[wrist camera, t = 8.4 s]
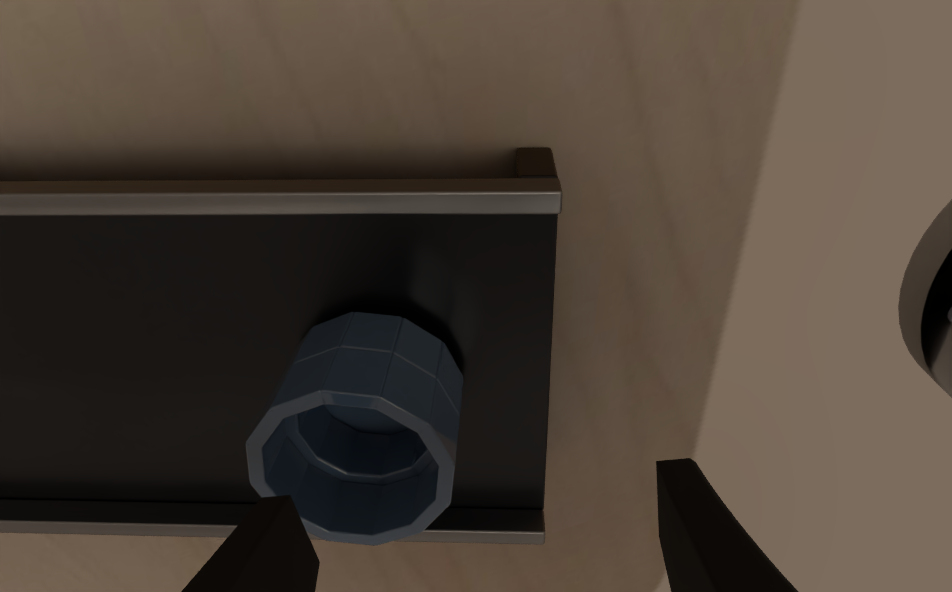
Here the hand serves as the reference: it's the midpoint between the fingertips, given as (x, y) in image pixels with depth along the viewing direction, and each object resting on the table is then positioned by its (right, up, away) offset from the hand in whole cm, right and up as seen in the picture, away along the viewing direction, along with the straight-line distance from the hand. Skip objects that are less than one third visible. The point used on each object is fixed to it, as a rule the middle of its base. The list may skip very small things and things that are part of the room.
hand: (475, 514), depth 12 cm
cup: (-3, +2, +6) cm, 7 cm away
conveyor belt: (-16, +3, +9) cm, 19 cm away
